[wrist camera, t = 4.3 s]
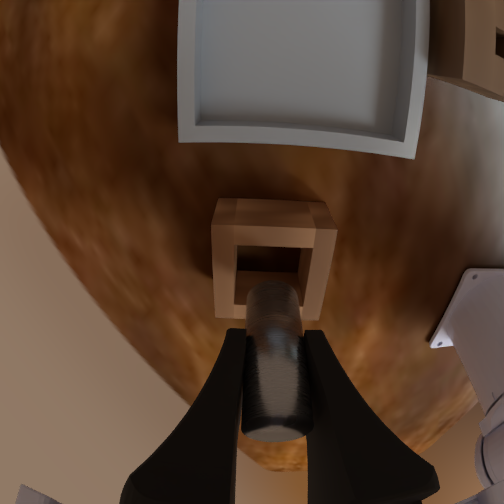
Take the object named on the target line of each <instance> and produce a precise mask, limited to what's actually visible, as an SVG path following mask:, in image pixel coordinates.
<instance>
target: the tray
mask: <svg viewBox="0 0 504 504" xmlns="http://www.w3.org/2000/svg"><path fill="white" fill-rule="evenodd" d="M429 28H430V0H179V11H178V45H177V103H178V140H179V143H183V142H236V143H266V144H285V145H300V146H312V147H324V148H334V149H344V150H352V151H361V152H368V153H376V154H383V155H390V156H396V157H403V158H409V159H415V154H416V148H417V143H418V137H419V131H420V124H421V118H422V111H423V103H424V95H425V86H426V76H427V65H428V50H429Z"/></svg>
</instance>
